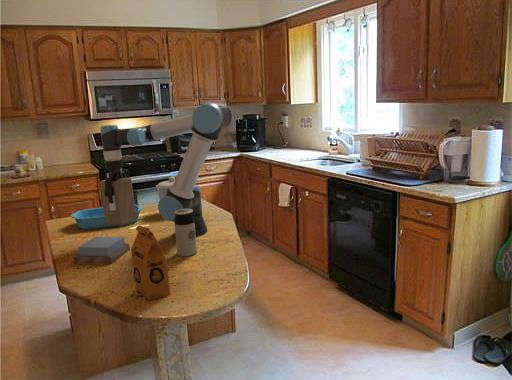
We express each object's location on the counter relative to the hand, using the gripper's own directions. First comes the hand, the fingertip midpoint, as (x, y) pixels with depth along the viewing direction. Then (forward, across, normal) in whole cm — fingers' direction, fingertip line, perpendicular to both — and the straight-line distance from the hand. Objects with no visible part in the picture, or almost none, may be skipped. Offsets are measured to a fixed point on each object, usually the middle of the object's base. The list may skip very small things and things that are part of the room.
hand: (119, 206), depth 193 cm
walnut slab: (+16, +22, +1) cm, 27 cm away
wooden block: (+8, 0, 0) cm, 8 cm away
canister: (+16, -46, +8) cm, 49 cm away
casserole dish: (+16, -27, -22) cm, 38 cm away
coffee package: (+16, +54, +36) cm, 67 cm away
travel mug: (+16, +18, +36) cm, 44 cm away
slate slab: (+13, +22, +2) cm, 26 cm away
